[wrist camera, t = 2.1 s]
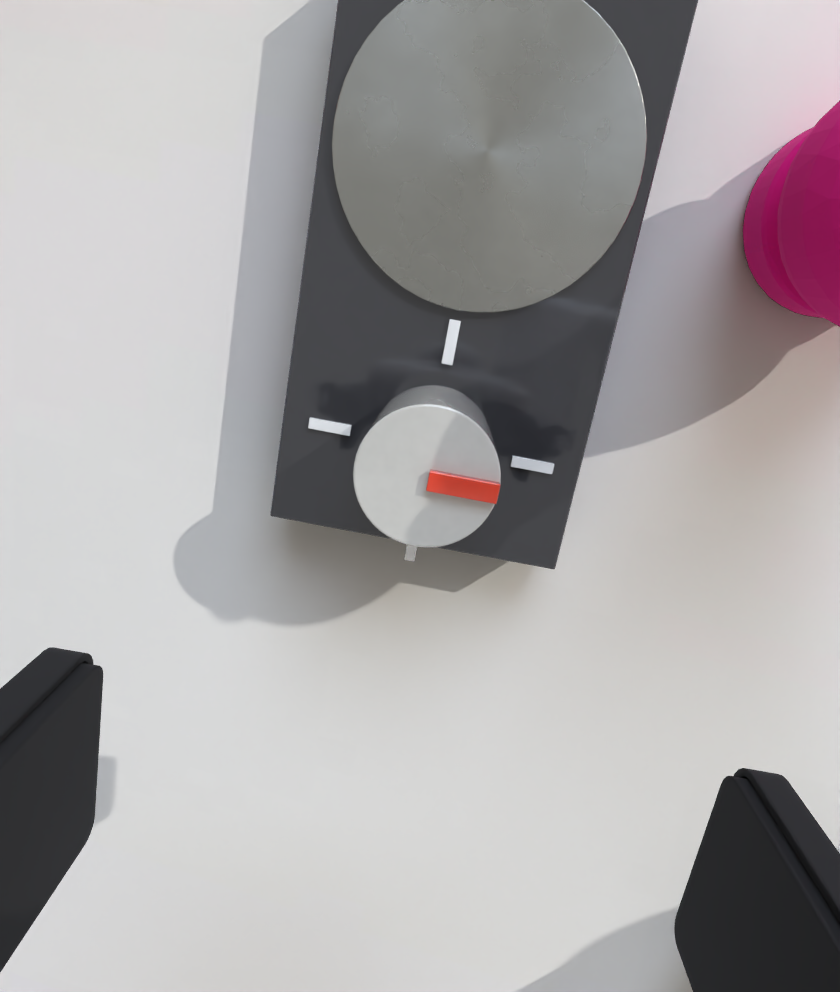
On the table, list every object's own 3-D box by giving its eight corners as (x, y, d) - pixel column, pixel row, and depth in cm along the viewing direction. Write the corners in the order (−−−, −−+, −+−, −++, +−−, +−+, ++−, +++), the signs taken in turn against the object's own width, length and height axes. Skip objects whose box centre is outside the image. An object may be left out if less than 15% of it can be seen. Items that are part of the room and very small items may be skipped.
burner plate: (682, 7, 20) (685, 2, 20) (600, 337, 22) (602, 338, 22) (359, -56, 20) (358, -62, 19) (313, 282, 22) (311, 282, 22)
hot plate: (363, -45, 22) (349, -100, 19) (672, 15, 22) (707, -30, 19) (287, 508, 27) (266, 534, 24) (540, 555, 27) (551, 587, 24)
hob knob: (362, 491, 24) (340, 537, 19) (381, 374, 23) (364, 392, 18) (478, 513, 24) (484, 564, 19) (503, 397, 23) (516, 421, 18)
